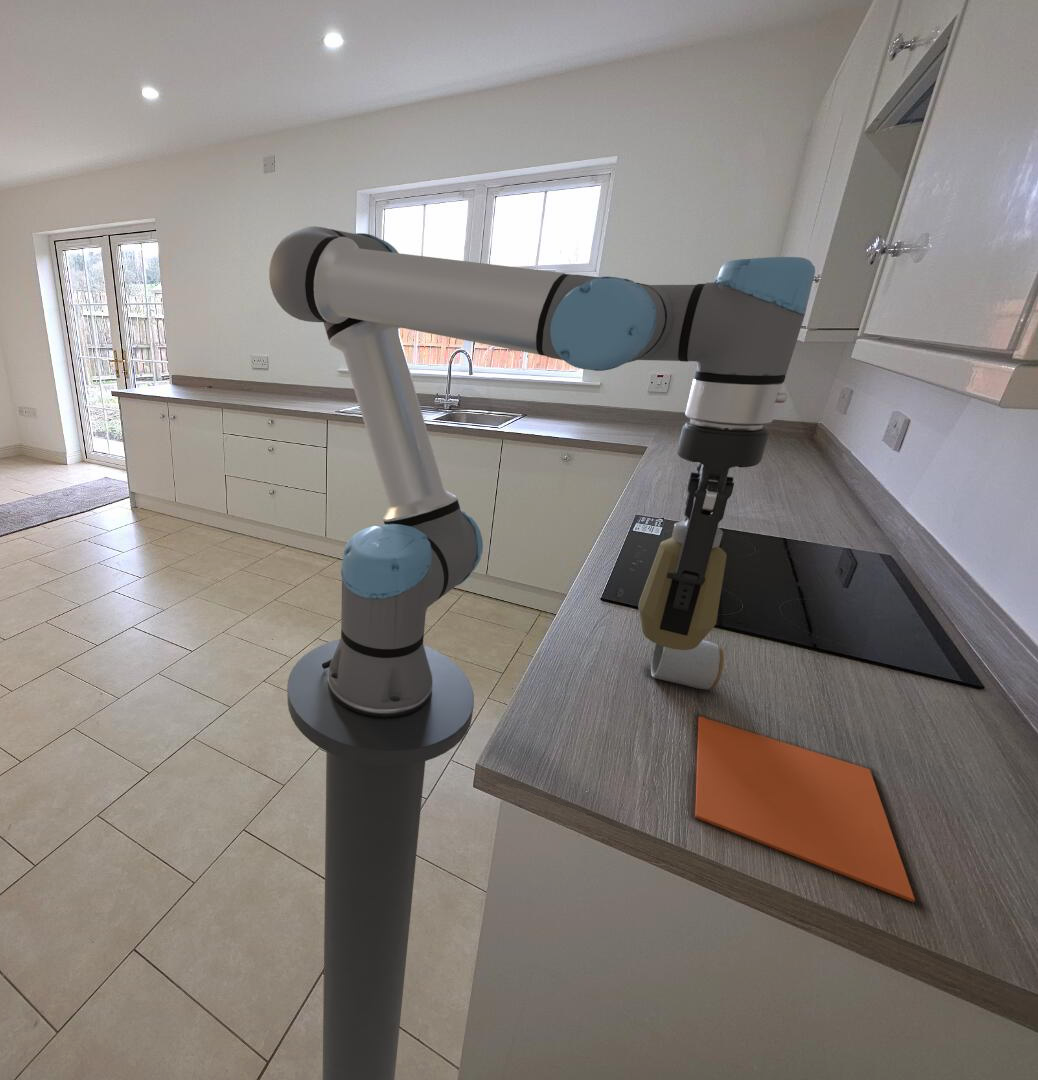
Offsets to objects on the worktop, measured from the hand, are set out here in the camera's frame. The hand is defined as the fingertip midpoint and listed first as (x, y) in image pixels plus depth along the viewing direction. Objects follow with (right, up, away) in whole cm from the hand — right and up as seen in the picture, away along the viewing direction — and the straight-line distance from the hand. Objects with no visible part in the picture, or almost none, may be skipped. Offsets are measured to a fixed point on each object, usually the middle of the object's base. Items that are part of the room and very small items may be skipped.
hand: (675, 614), depth 67 cm
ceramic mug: (+14, -13, +21) cm, 28 cm away
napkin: (+13, -21, 0) cm, 25 cm away
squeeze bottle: (0, -3, +1) cm, 3 cm away
